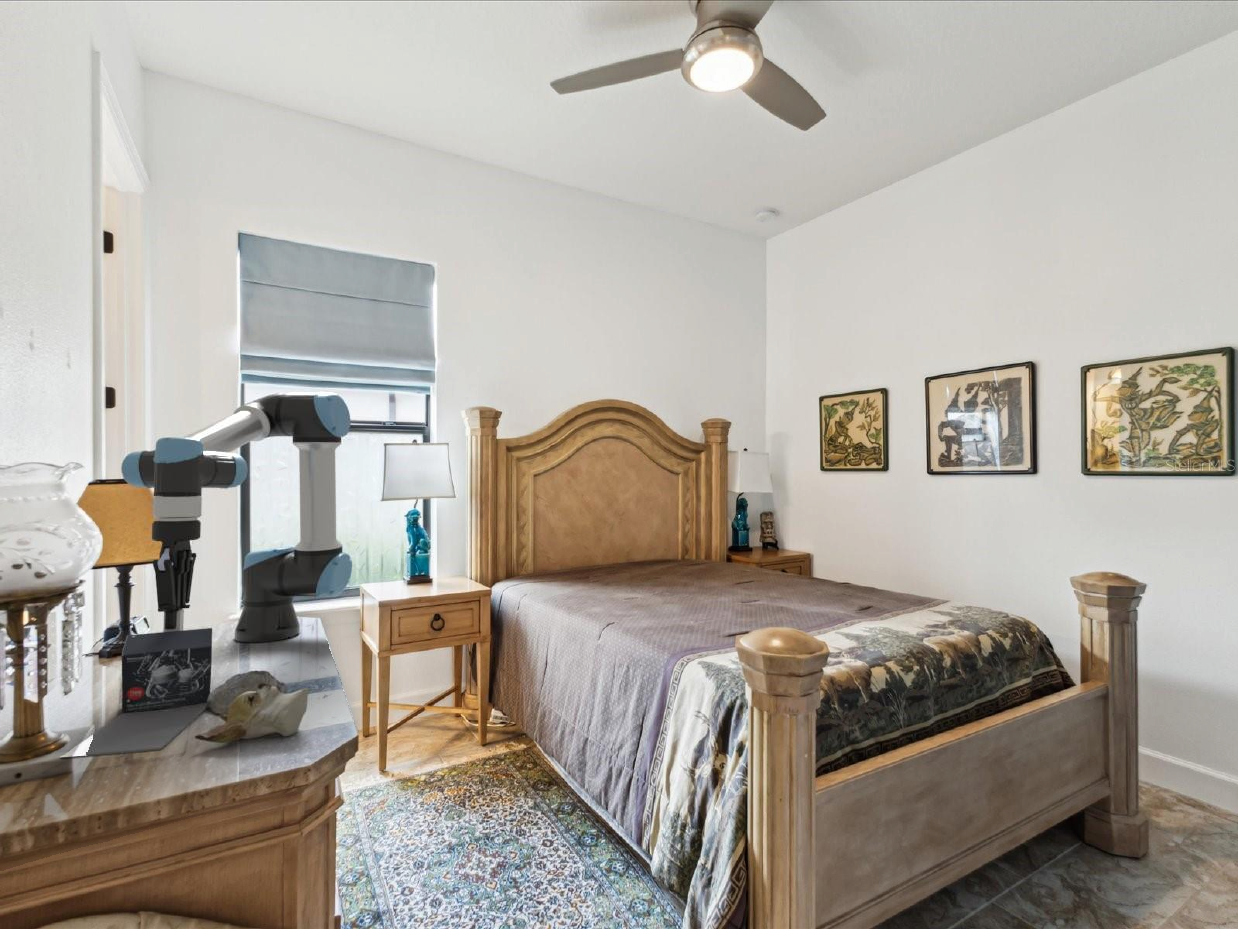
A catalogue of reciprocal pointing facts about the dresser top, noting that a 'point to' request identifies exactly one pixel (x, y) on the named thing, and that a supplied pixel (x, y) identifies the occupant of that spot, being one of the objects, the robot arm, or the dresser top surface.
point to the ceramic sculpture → (260, 715)
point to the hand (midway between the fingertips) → (172, 645)
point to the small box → (166, 669)
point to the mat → (141, 731)
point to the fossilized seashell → (239, 689)
